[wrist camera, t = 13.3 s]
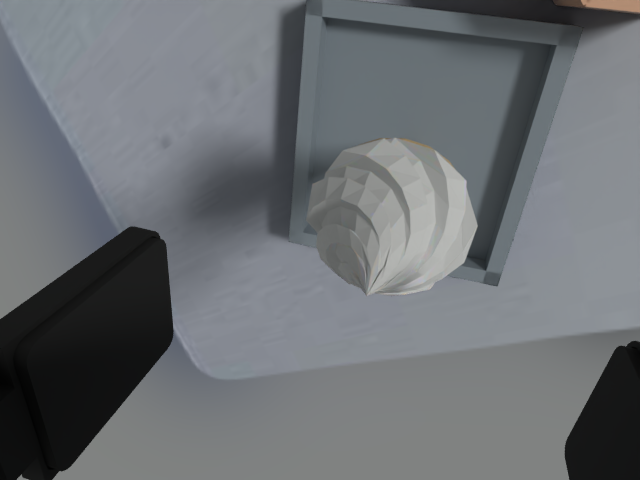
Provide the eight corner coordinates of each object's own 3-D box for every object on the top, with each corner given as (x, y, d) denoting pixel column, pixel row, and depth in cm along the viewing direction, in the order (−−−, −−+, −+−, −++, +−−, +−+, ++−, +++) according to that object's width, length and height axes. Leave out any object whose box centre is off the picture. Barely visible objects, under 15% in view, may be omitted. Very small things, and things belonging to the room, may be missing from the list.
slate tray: (317, -5, 23) (306, -5, 22) (573, 25, 21) (583, 27, 20) (298, 227, 30) (288, 241, 28) (494, 268, 27) (497, 286, 26)
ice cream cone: (367, 199, 27) (287, 383, 13) (350, 99, 24) (234, 202, 11) (471, 188, 25) (493, 385, 12) (462, 78, 23) (477, 172, 10)
